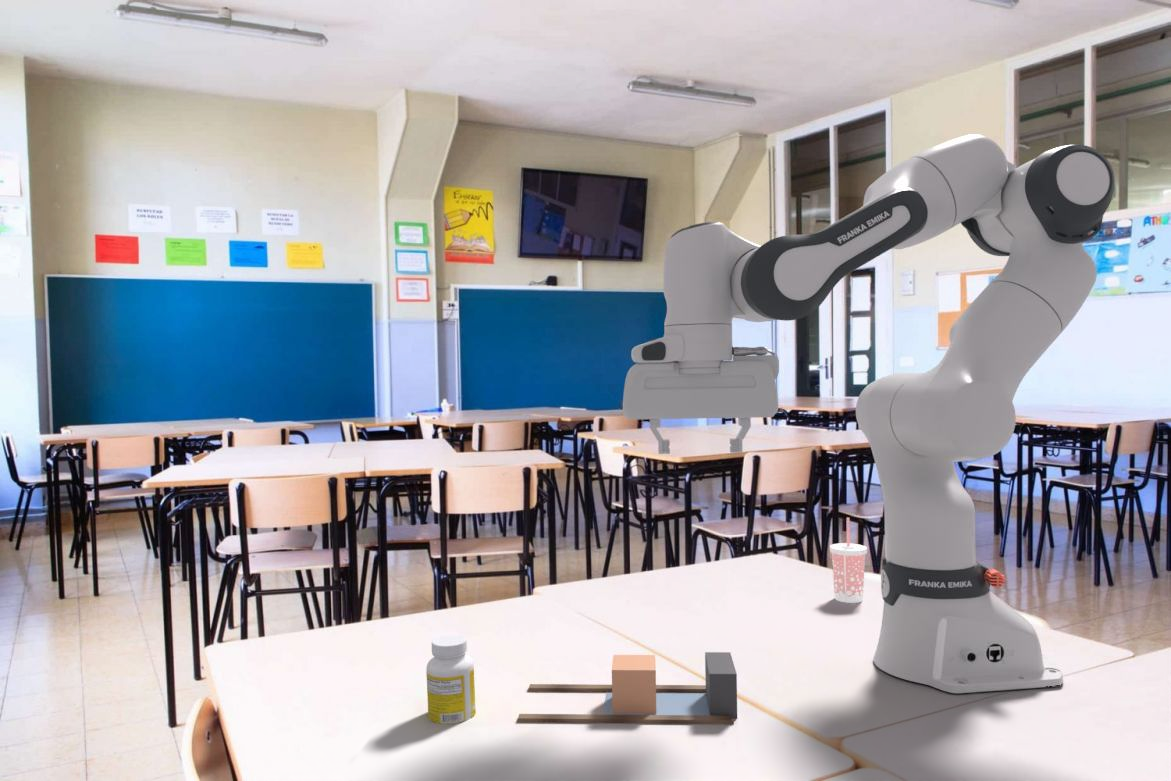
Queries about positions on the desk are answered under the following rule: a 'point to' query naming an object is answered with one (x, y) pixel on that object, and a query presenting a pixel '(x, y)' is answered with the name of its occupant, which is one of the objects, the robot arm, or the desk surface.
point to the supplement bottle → (450, 681)
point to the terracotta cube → (634, 684)
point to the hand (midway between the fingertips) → (700, 453)
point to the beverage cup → (848, 570)
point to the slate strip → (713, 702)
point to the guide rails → (621, 718)
